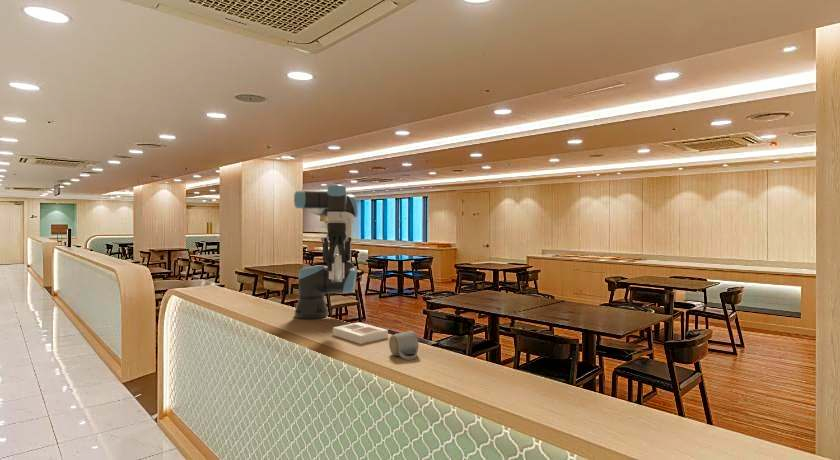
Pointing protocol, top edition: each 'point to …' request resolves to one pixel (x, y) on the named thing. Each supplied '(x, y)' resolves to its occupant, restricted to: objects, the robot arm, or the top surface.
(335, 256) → the pin
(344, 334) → the pin board
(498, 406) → the top surface
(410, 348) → the ceramic mug
